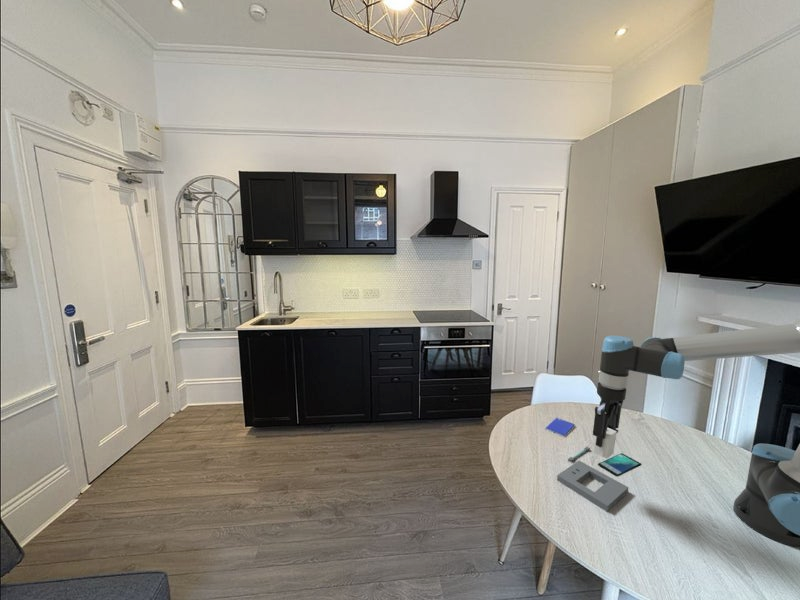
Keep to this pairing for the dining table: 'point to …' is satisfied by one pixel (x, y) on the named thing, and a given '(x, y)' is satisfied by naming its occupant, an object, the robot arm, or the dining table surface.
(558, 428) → the hard drive
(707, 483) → the dining table surface
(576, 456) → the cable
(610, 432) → the charger
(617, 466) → the smartphone
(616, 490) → the outlet plate
